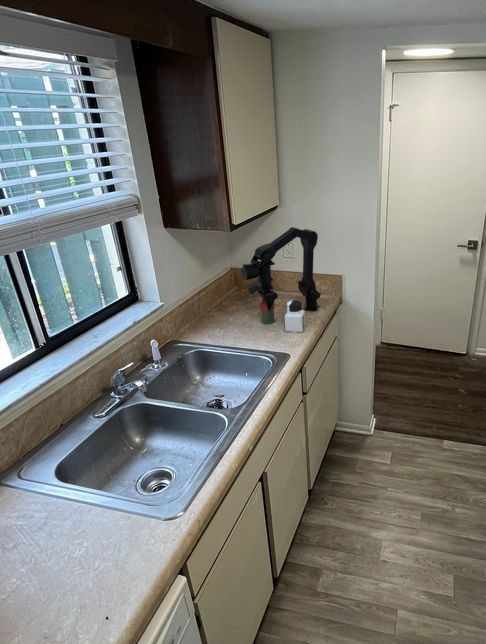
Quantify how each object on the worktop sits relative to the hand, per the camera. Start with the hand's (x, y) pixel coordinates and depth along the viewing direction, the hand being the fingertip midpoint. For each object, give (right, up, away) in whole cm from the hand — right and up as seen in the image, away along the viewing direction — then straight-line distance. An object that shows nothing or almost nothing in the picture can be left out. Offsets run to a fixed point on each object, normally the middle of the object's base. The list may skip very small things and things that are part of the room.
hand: (267, 307), depth 202 cm
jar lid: (0, 0, 0) cm, 0 cm away
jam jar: (0, -7, +3) cm, 7 cm away
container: (+13, -10, -4) cm, 17 cm away
